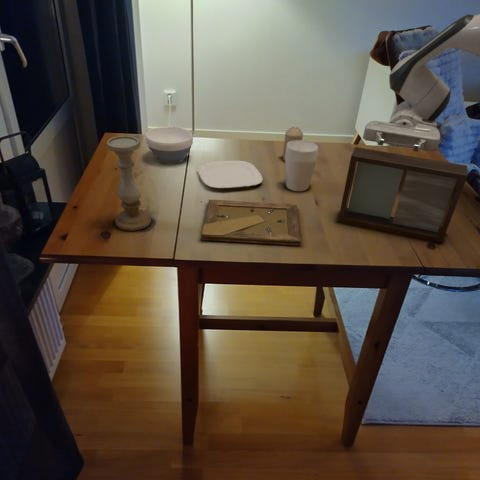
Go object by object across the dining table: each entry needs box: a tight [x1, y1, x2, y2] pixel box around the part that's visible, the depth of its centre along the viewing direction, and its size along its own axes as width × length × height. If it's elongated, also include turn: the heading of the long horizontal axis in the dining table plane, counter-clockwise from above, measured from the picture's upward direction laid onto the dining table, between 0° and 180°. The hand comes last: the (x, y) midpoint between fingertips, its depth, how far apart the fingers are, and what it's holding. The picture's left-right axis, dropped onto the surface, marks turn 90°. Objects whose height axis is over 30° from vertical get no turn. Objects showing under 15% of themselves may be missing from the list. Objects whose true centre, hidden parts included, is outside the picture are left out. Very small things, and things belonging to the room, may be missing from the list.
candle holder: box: [105, 135, 152, 232], centre depth 109 cm, size 9×9×20 cm
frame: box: [337, 146, 469, 244], centre depth 114 cm, size 6×26×18 cm, turn 70°
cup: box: [284, 139, 319, 192], centre depth 132 cm, size 9×9×12 cm
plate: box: [196, 160, 264, 190], centre depth 137 cm, size 18×18×2 cm
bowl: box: [145, 126, 194, 165], centre depth 145 cm, size 14×14×8 cm
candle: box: [282, 126, 304, 162], centre depth 147 cm, size 6×6×10 cm
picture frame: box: [201, 199, 302, 246], centre depth 117 cm, size 19×2×24 cm
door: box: [347, 162, 405, 219], centre depth 117 cm, size 4×11×14 cm, turn 70°
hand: (398, 145), depth 122 cm, fingers open, 8 cm apart
